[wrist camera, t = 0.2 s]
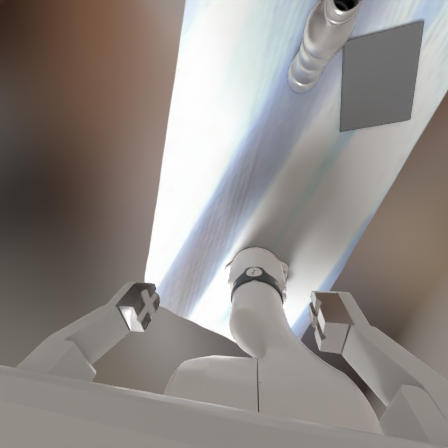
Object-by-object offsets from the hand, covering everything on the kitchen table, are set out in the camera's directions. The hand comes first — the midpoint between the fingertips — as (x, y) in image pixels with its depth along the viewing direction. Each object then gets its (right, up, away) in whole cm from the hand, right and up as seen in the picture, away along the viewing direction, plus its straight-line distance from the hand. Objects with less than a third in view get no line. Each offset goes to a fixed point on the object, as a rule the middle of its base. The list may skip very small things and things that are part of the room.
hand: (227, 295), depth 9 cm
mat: (+31, +33, +27) cm, 53 cm away
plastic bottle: (+16, +35, +29) cm, 48 cm away
